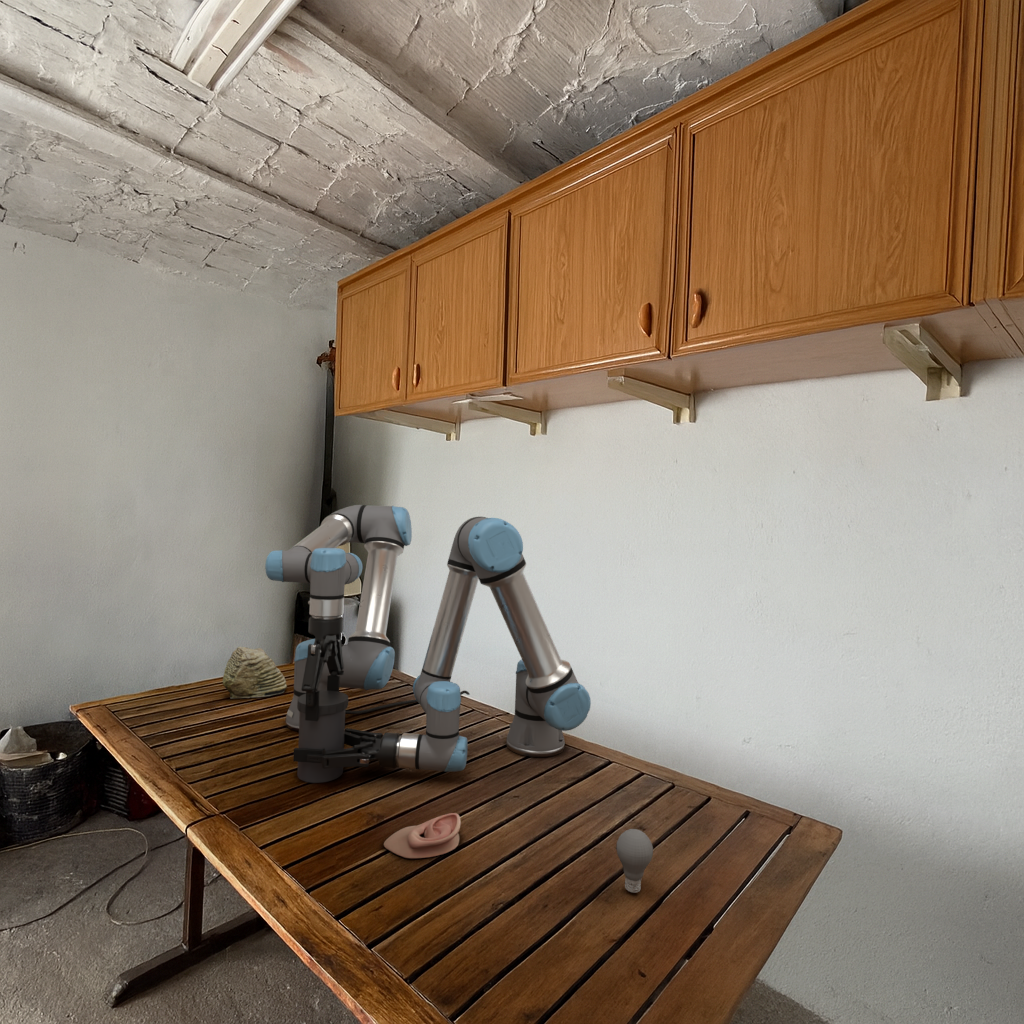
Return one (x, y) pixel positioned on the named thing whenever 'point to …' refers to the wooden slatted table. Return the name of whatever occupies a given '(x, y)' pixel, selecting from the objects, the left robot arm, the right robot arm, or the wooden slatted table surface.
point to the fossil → (252, 674)
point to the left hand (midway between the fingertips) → (322, 711)
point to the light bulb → (634, 857)
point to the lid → (326, 702)
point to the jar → (320, 745)
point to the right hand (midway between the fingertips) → (302, 745)
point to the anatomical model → (426, 838)
